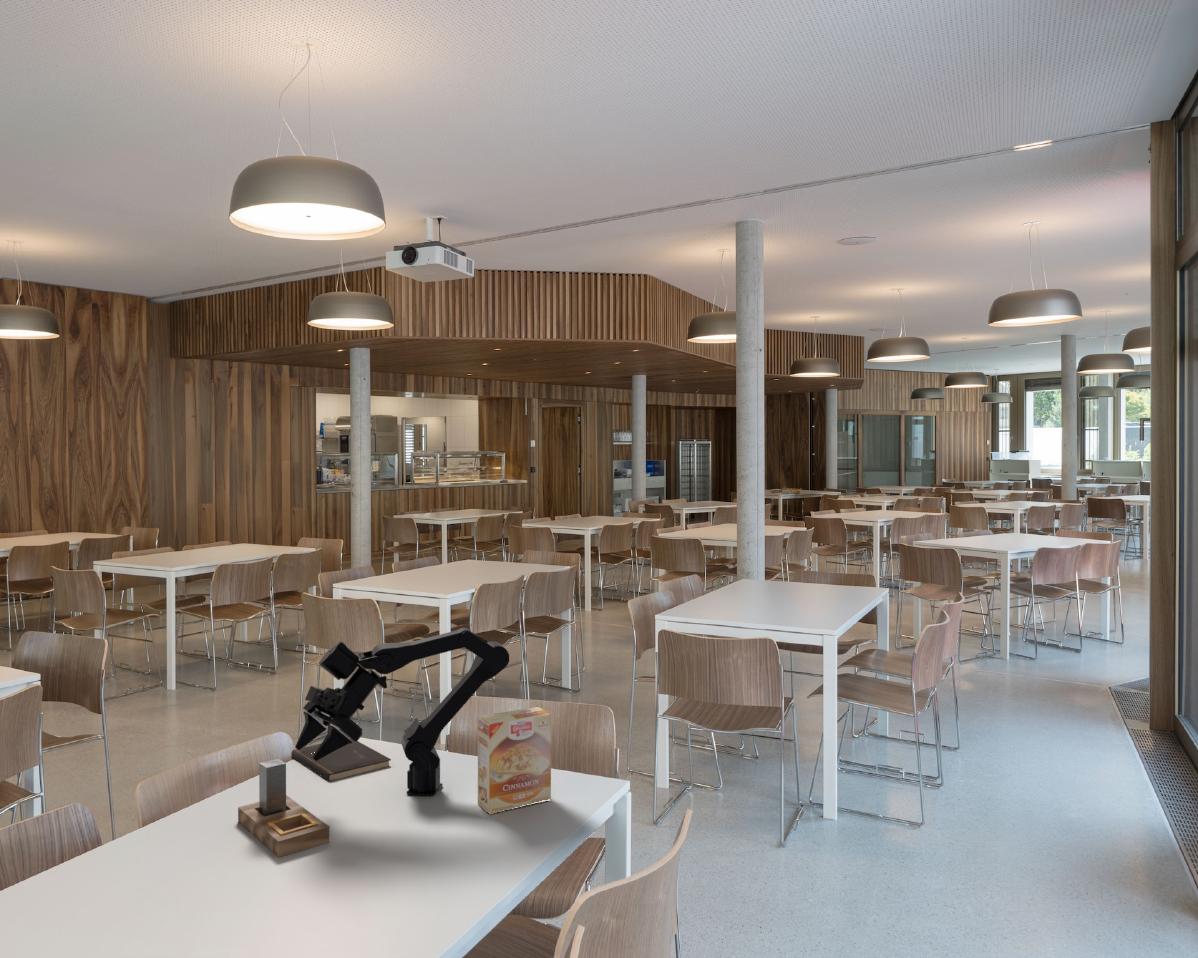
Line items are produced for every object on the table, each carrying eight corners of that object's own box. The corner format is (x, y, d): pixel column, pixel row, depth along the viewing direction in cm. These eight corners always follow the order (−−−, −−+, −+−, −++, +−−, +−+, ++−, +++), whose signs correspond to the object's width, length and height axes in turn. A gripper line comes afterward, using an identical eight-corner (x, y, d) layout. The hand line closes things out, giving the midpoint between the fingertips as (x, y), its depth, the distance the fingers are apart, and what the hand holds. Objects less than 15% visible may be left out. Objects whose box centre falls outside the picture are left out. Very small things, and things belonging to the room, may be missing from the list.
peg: (259, 823, 174) (259, 762, 174) (278, 817, 176) (278, 758, 176) (266, 829, 171) (266, 767, 171) (286, 823, 173) (286, 763, 173)
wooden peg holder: (238, 821, 174) (238, 805, 174) (285, 808, 181) (285, 793, 181) (278, 857, 158) (278, 839, 158) (329, 841, 165) (329, 824, 165)
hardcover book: (350, 745, 225) (350, 736, 225) (390, 768, 208) (390, 758, 208) (291, 758, 215) (291, 749, 215) (328, 783, 197) (328, 774, 197)
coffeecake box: (489, 815, 177) (489, 723, 177) (476, 804, 184) (476, 715, 183) (552, 801, 185) (552, 713, 185) (538, 790, 191) (537, 705, 191)
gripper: (311, 664, 189) (262, 722, 181) (348, 679, 175) (296, 743, 167) (345, 693, 194) (298, 751, 186) (383, 710, 180) (334, 773, 173)
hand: (305, 754), depth 178 cm, fingers open, 9 cm apart
